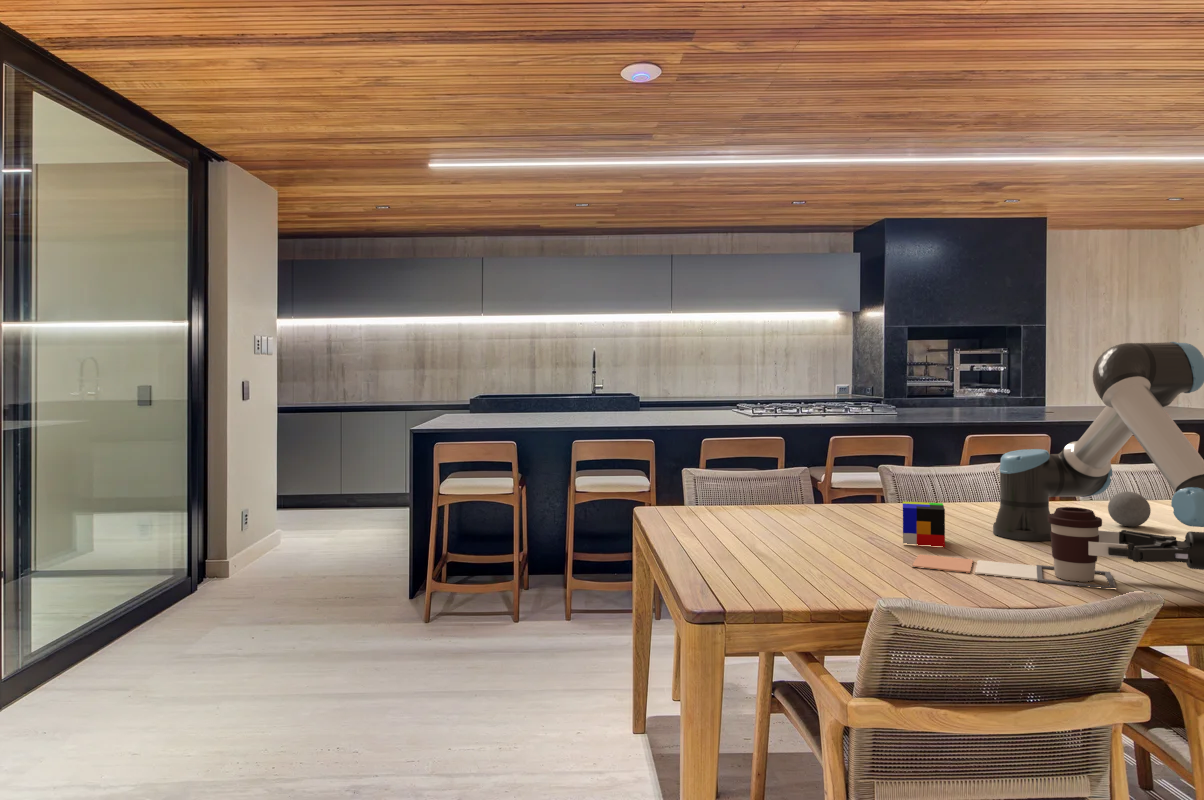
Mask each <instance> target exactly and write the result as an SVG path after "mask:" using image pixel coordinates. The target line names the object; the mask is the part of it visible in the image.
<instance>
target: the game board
mask: <svg viewBox="0 0 1204 800" xmlns="http://www.w3.org/2000/svg"><path fill="white" fill-rule="evenodd" d="M972 563H973V564H974V559H971V558H970V559H968V558H962V557H961V558H959V557H950V556H942V555H930V554H918V555H917V557H915V560H914V562H913V563H912V566H915V567H924V568H930V569H939V570H938V571H940V570H946V571H945V572H949V571H956V572H955V573H959V572H966V573H965V574H968V573H970V574H971V572H972V568H971V567H973V564H972ZM930 569H929V570H930ZM1053 569H1054V565H1053V566H1051V565H1044V564H1035V565H1032V564H1022V563H1011V562H1001V561H991V560H981V559H978V560H977V562H976V566H975V571H974V575H977V574H985V575H984V576H987V575H994V576H993V577H996V576H1003V577H1002V578H1006V577H1012V578H1011V579H1015V578H1021V579H1020V580H1025V579H1029V580H1028V581H1034V580H1037V581H1039V582H1038V583H1042V582H1048V583H1047V584H1052V583H1057V584H1056V585H1061V584H1068V585H1067V586H1070V585H1079V586H1078V587H1080V586H1090V587H1101V588H1117V586H1116V582H1115V580H1114V578H1113V576H1112V573H1111V571H1106V570H1105V571H1104V570H1096V569H1095V573H1101V574H1100V575H1104V574H1105V575H1106V576H1105V575H1104V576H1105V579H1106V578H1107V579H1106V581H1107V580H1108V581H1107V583H1108V582H1109V584H1108V585H1102V584H1094V583H1093V584H1092V583H1086V582H1076V581H1067V580H1065V581H1063V580H1054V579H1044V577H1043V570H1053ZM970 571H971V572H970ZM1037 581H1036V582H1037ZM1109 585H1110V586H1109ZM1117 589H1118V588H1117Z"/></svg>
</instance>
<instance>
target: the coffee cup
mask: <svg viewBox="0 0 1204 800" xmlns="http://www.w3.org/2000/svg"><path fill="white" fill-rule="evenodd" d="M1048 522H1049V523H1051V540H1050V544H1051V557H1052V558H1053V566H1054V570H1053V571H1054V575H1055V576H1056V578H1058V579H1060V578H1061V579H1060V580H1065V581H1068V580H1070V581H1069V582H1076V581H1079V582H1078V583H1089V582H1093V581H1094V580H1095V575H1096V574H1095V570H1096V562H1098V556H1093V555H1088V541H1089V542H1099V535H1098V530H1100V528H1101V527H1103V519H1102V518H1101V517H1099V516H1096V514H1095V512H1094V510H1092V509H1089V508H1086V507H1072V506H1062V507H1057V508H1055V510H1054V512H1053V513H1052V512H1051V513H1050V514H1049V515H1048ZM1088 581H1089V582H1088Z"/></svg>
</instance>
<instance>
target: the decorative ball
mask: <svg viewBox="0 0 1204 800" xmlns="http://www.w3.org/2000/svg"><path fill="white" fill-rule="evenodd" d="M1107 510H1108V514H1109V516H1110V517H1111V519H1112V520H1113V521H1114V522H1115V523H1117V524H1119V525H1120V526H1123V527H1127V526H1129V528H1131V527H1132V528H1135V527H1139V526H1142V525H1144V524H1145V523H1146V522H1147V521H1148V520H1149V518H1150V517H1151V516H1150V515H1151V514H1152V513H1151V511H1152V510H1151V505H1150V503H1149V501H1148V500H1147V499H1146V498H1145V497H1144V496H1143V495H1141V494H1139V493H1136V492H1133V491H1122V492H1119V493H1116V494H1115V495H1113V496H1112V497H1111V498H1110V499H1109V501H1108V504H1107Z"/></svg>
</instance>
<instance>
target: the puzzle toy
mask: <svg viewBox="0 0 1204 800" xmlns="http://www.w3.org/2000/svg"><path fill="white" fill-rule="evenodd" d="M945 515H946V509H945V506H944V503H942V502H923V501H921V502H920V501H919V502H918V501H902V544H903V543H907V544H918V545H931V546H943V547H945V548H946V519H945V518H946V516H945Z"/></svg>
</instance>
